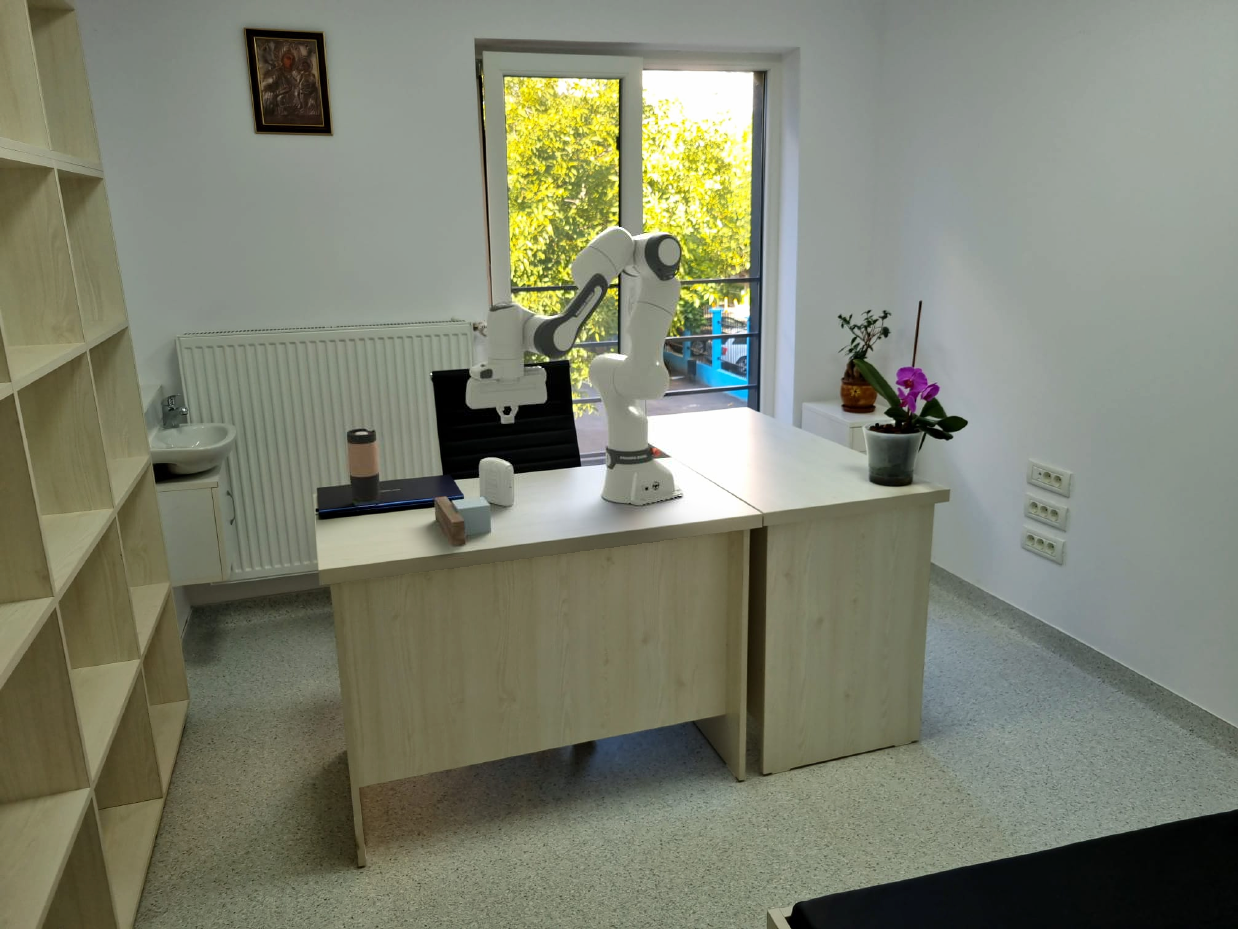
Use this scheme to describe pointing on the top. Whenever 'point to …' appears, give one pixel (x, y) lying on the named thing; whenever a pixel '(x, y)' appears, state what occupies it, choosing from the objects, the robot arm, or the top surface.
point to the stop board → (450, 521)
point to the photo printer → (496, 481)
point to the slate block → (474, 514)
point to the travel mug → (363, 465)
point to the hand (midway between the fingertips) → (507, 422)
